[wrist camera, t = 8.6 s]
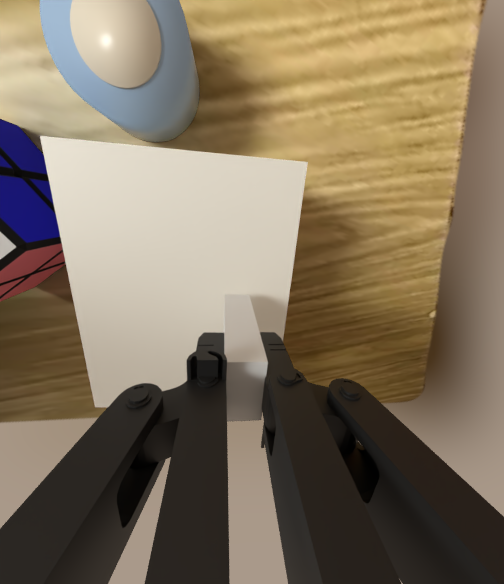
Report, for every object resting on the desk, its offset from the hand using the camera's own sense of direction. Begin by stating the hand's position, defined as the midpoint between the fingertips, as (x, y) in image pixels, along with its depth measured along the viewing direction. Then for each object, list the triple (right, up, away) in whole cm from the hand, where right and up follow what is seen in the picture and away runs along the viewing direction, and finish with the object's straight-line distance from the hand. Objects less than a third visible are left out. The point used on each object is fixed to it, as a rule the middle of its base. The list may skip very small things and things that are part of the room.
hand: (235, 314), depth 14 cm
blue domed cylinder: (-7, +18, +4) cm, 20 cm away
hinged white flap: (-4, +1, +2) cm, 4 cm away
